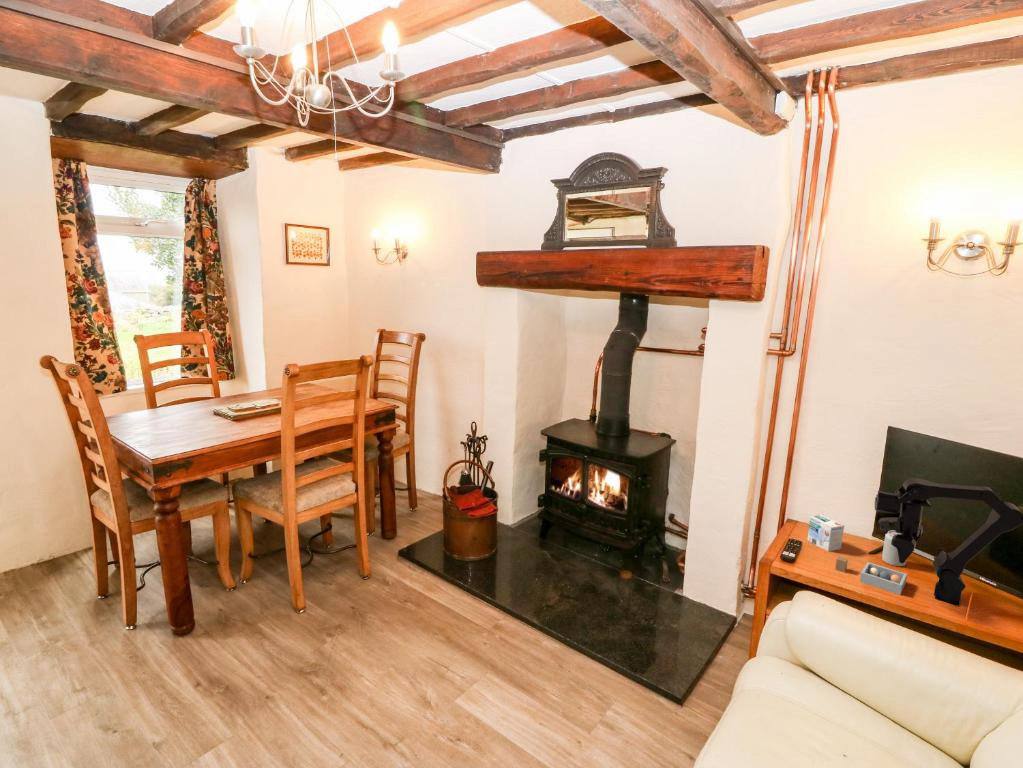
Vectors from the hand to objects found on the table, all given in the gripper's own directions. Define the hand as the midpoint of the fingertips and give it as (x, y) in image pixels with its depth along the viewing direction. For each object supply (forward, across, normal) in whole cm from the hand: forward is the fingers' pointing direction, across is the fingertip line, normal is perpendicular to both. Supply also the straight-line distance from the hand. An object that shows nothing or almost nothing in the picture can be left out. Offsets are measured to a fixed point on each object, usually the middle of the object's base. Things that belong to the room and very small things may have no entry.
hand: (903, 557), depth 189 cm
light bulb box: (+12, -17, -28) cm, 35 cm away
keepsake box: (+12, 0, -5) cm, 13 cm away
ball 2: (+12, -3, -5) cm, 13 cm away
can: (+12, -20, -5) cm, 24 cm away
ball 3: (+12, -3, -2) cm, 12 cm away
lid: (+13, 0, -18) cm, 22 cm away
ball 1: (+12, -3, -8) cm, 15 cm away
